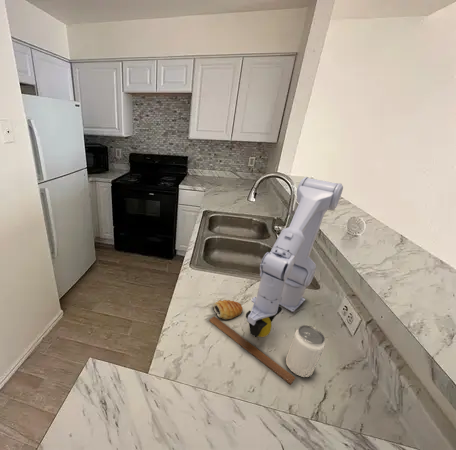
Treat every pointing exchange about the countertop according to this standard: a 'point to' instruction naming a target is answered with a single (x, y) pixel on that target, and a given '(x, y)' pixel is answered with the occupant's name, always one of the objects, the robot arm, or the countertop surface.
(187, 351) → the countertop surface
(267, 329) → the lemon
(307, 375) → the can
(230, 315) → the pastry
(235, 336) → the strip
